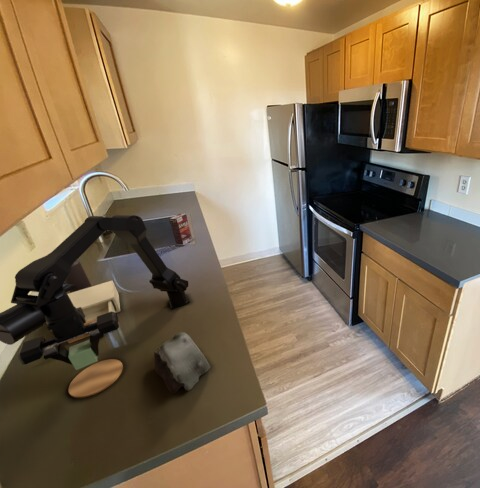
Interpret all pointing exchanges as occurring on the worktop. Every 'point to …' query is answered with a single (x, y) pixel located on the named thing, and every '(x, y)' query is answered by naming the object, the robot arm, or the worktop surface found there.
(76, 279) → the bottle
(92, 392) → the trivet
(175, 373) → the rock
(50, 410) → the worktop surface
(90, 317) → the drawer
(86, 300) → the cabinet
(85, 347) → the block
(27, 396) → the worktop surface
